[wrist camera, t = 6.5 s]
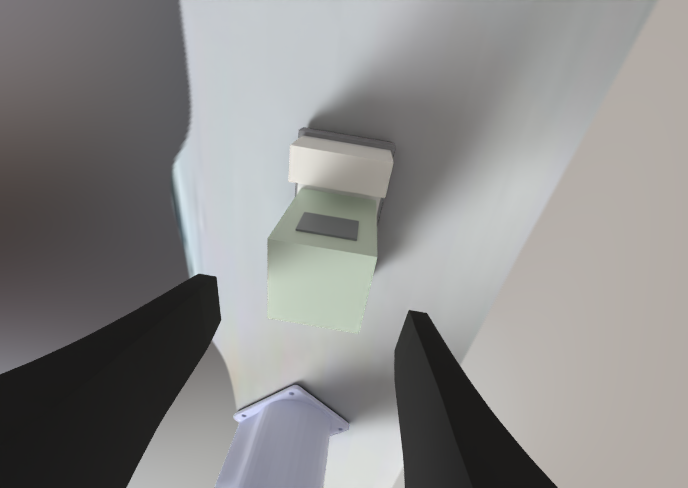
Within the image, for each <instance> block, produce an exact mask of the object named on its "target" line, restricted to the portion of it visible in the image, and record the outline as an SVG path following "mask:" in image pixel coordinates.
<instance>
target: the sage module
mask: <svg viewBox="0 0 688 488" xmlns="http://www.w3.org/2000/svg"><path fill="white" fill-rule="evenodd" d="M376 261H377V211H376V200H370V199H364V198H358V197H352V196H346V195H340V194H334V193H328V192H322V191H316V190H310V189H304V188H301V189H300V191H299V192H298V194H297V195H296V197H295V198H294V200H293V201H292V203H291V204H290V206H289V207H288V209H287V210H286V212H285V213H284V215H283V216H282V218H281V219H280V221H279V222H278V224H277V225H276V227H275V228H274V230H273V231H272V233H271V234H270V236H269V237H268V278H267V318H268V319H274V320H280V321H286V322H292V323H298V324H304V325H309V326H315V327H321V328H327V329H333V330H339V331H345V332H350V333H356V334H359V331H360V327H361V323H362V319H363V315H364V311H365V307H366V303H367V298H368V294H369V290H370V286H371V282H372V278H373V274H374V270H375V265H376Z"/></svg>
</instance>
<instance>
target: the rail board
mask: <svg viewBox="0 0 688 488" xmlns="http://www.w3.org/2000/svg"><path fill="white" fill-rule="evenodd" d="M394 151H395V144H394V143H392V142H386V141H380V140H374V139H369V138H363V137H357V136H351V135H345V134H339V133H333V132H327V131H322V130H316V129H310V128H304V127H303V128H302V129H300V130H299V135H298V139H297V140H296V141H295V142H293V143H292V144H291V145H290V159H289V181H288V182H293V183H296V186H295V197H296V195H297V194H298V192H299V191H300V189H301V188H304V189H310V190H316V191H322V192H328V193H334V194H340V195H346V196H352V197H358V198H364V199H370V200H376V211H377V225H378V221H379V216H380V212H381V208H382V203H383V199H384V198H385V197H386V193H387V189H388V184H389V180H390V176H391V171H392V167H393V163H394V162H393V156H394Z"/></svg>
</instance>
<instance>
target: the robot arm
mask: <svg viewBox="0 0 688 488" xmlns="http://www.w3.org/2000/svg"><path fill="white" fill-rule="evenodd" d="M220 321H221V314H220V305H219V296H218V287H217V278H216V277H215V276H209V275H204V274H197V275H195V276H194V277H192V278H190V279H188V280H187V281H185V282H183V283H181V284H180V285H178V286H176V287H175V288H173V289H171V290H169V291H168V292H166V293H165V294H163V295H161V296H159V297H158V298H156V299H154V300H152V301H151V302H149V303H147V304H145V305H144V306H142V307H140V308H139V309H137V310H135V311H133V312H131V313H129V314H128V315H126V316H124V317H122V318H120V319H118V320H116V321H115V322H113V323H111V324H109V325H107V326H105V327H103V328H101V329H99V330H97V331H96V332H94V333H92V334H90V335H88V336H86V337H84V338H82V339H80V340H78V341H76V342H73V343H71V344H69V345H67V346H65V347H63V348H61V349H58V350H56V351H54V352H52V353H50V354H48V355H45V356H43V357H41V358H39V359H36V360H34V361H32V362H29V363H27V364H25V365H22V366H20V367H17V368H15V369H12V370H10V371H8V372H5V373H3V374H0V488H126V487H127V485H128V483H129V481H130V479H131V477H132V475H133V473H134V471H135V469H136V467H137V465H138V463H139V461H140V460H141V458H142V456H143V454H144V452H145V450H146V448H147V446H148V444H149V442H150V441H151V439H152V437H153V435H154V433H155V431H156V429H157V428H158V426H159V424H160V422H161V421H162V419H163V417H164V416H165V414H166V412H167V411H168V409H169V408H170V406H171V405H172V403H173V402H174V400H175V398H176V397H177V395H178V394H179V392H180V391H181V389H182V387H183V386H184V384H185V383H186V381H187V380H188V378H189V377H190V375H191V374H192V372H193V371H194V369H195V367H196V366H197V364H198V362H199V361H200V359H201V358H202V356H203V355H204V353H205V351H206V350H207V348H208V346H209V344H210V342H211V340H212V338H213V336H214V334H215V332H216V330H217V328H218V326H219V324H220ZM394 370H395V389H396V398H397V407H398V415H399V424H400V433H401V441H402V450H403V461H404V477H405V488H557V486H556V485H555V484H554V483H553V482H552V481H551V480H550V479H549V478H548V477H547V475H546V474H545V473H544V472H543V471H542V470H541V469H540V468H539V467H538V466H537V465H536V463H535V462H534V461H533V460H532V459H531V458H530V457H529V455H528V454H527V453H526V452H525V451H524V450H523V449H522V447H521V446H520V445H519V444H518V443H517V441H516V440H515V439H514V438H513V437H512V435H511V434H510V433H509V432H508V430H507V429H506V428H505V427H504V426H503V424H502V423H501V422H500V421H499V419H498V418H497V417H496V416H495V415H494V413H493V412H492V410H491V409H490V408H489V407H488V405H487V404H486V402H485V401H484V400H483V398H482V397H481V396H480V394H479V393H478V391H477V390H476V389H475V387H474V386H473V384H471V382H470V380H469V379H468V377H467V376H466V374H465V373H464V371H463V370H462V368H461V367H460V365H459V364H458V362H457V361H456V359H455V358H454V356H453V355H452V353H451V351H450V350H449V348H448V347H447V345H446V343H445V342H444V340H443V339H442V337H441V335H440V334H439V332H438V330H437V329H436V327H435V325H434V324H433V322H432V320H431V319H430V317H429V316H428V314H427V313H423V312H418V311H412V310H409V311H408V314H407V317H406V320H405V322H404V325H403V328H402V331H401V334H400V336H399V339H398V342H397V345H396V348H395V362H394ZM234 419H235V420H236V421H238V422H239V425H238V428H237V431H236V433H235V436H234V438H233V441H232V443H231V446H230V448H229V451H228V453H227V456H226V459H225V461H224V464H223V466H222V469H221V471H220V474H219V477H218V479H217V482H216V484H215V487H214V488H323V486H324V478H325V470H326V462H327V454H328V446H329V438H330V436H332V435H335V434H338V433H341V432H344V431H347V430H349V426H350V425H349V423H348V422H346V421H345V420H344V419H342V418H341V417H340V416H338V415H337V414H336V413H334V412H333V411H332V410H330V409H329V408H328V407H326V406H325V405H324V404H322V403H321V402H320V401H318V400H317V399H316V398H314V397H313V396H312V395H310V394H309V393H308V392H306V391H305V390H304V389H302V388H301V387H300V386H298V385H293V386H291V387H288V388H286V389H284V390H282V391H280V392H278V393H276V394H274V395H272V396H270V397H268V398H266V399H263V400H261V401H259V402H257V403H255V404H253V405H251V406H249V407H247V408H245V409H243V410H240V411H238V412H236V413H235V414H234Z"/></svg>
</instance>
